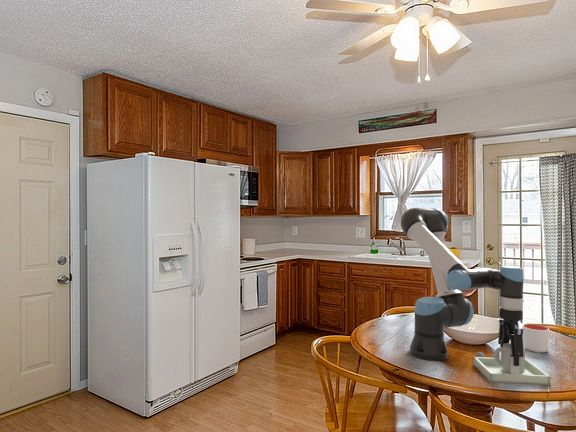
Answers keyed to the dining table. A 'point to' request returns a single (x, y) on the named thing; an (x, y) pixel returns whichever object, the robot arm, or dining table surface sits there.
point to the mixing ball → (479, 354)
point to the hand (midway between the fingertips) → (509, 369)
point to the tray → (498, 374)
